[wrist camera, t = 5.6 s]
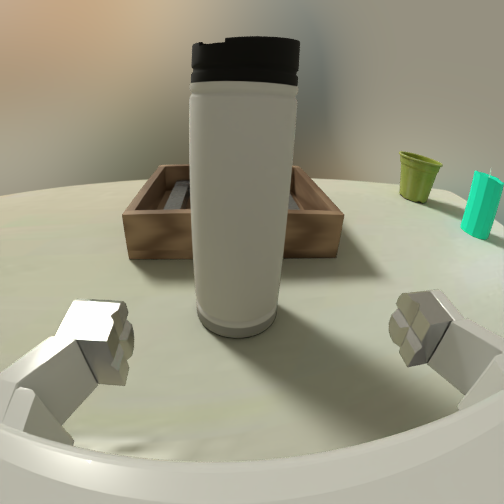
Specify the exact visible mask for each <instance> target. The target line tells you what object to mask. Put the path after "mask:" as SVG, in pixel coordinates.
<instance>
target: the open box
mask: <svg viewBox="0 0 504 504" xmlns="http://www.w3.org/2000/svg"><path fill="white" fill-rule="evenodd" d="M177 180H190V164H180V165H160V166H159V167H158V168H157V169H156V171H155V172H154V173H153V175H152V176H151V177H150V179H149V180H148V181H147V182H146V183H145V185H144V186H143V187H142V189H141V190H140V191H139V192H138V194H137V195H136V196H135V198H134V199H133V201H132V202H131V203H130V205H129V206H128V207H127V209H126V210H125V211H124V213H123V214H122V218H123V225H124V231H125V238H126V244H127V250H128V256H129V259H193V246H192V226H191V202H190V197H189V199H188V202H187V206H186V209H171V210H163V209H164V207H165V205H166V203H167V201H168V198H169V196H170V194H171V192H172V190H173V188H174V186H175V184H176V182H177ZM290 194H291V196H292V198H293V199H294V201H295V202H296V204H297V206H298V207H299V209H300V210H288V214H287V224H286V233H285V242H284V251H283V258H332V257H336V255H337V250H338V245H339V240H340V235H341V230H342V225H343V219H344V214H343V213H342V212H341V211H340V210H339V208H338V207H337V206H336V205H335V204H334V203H333V202H332V201H331V200H330V199H329V197H328V196H327V195H326V194H325V193H324V192H323V191H322V190H321V189H320V188H319V187H318V186H317V185H316V184H315V182H314V181H313V180H312V179H311V178H310V177H309V176H308V175H307V174H306V173H305V172H304V171H303V170H302V169H301V168H300V167H299V166H292V173H291V183H290Z"/></svg>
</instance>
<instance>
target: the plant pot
mask: <svg viewBox="0 0 504 504" xmlns="http://www.w3.org/2000/svg"><path fill="white" fill-rule="evenodd" d="M399 154H400V156H401V157H400V161H401V178H400V192H399V193H400V194H401V195H402V196H403V197H404V198H406V199H409V200H411V201H414V202H417V201H420V202H422V203H425V202H426V201H427V199H428V196H429V194H430V191H431V188H432V186H433V183H434V180H435V177H436V175H437V173H438V172H439V169H440V167H442V164H441V163H440V162H438V161H435V160H433V159H430V158H427V157H424V156H421V155H418V154H414V153H408V152H402V151H400V152H399Z"/></svg>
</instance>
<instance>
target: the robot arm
mask: <svg viewBox="0 0 504 504" xmlns="http://www.w3.org/2000/svg"><path fill="white" fill-rule="evenodd" d="M396 305H397V308H398V309H397V310H396V311H395V312H394V313H393V314H392V315H391V318H390V321H389V334H390V337H391V339H392V341H393V342H394V343H395V344H397V345H398V346H400V350H399V353H400V355H401V357H402V359H403V361H404V362H405V364H406V366H407V367H411V366H416V365H421V364H426V363H428V364H427V365H429V366H430V367H431V368H432V369H434V370H435V371H436V372H437V373H438V374H440V375H441V376H442V377H443V378H445V379H446V380H447V381H448V382H449V383H451V384H452V385H453V386H454V387H455V388H457V389H458V390H459V391H460V392H461V393H463V394H464V395H465V396H464V397H463V398H462V400H461V401H460V402H459V403H458V406H457V408H458V409H459V411H458V412H455V413H453V414H451V415H448V416H446V417H443V418H441V419H438V420H436V421H433V422H430V423H428V424H425V425H422V426H419V427H416V428H414V429H411V430H408V431H404V432H401V433H398V434H395V435H392V436H388V437H385V438H381V439H377V440H374V441H370V442H366V443H362V444H358V445H354V446H349V447H345V448H340V449H335V450H330V451H324V452H319V453H313V454H306V455H299V456H292V457H284V458H274V459H263V460H249V461H225V462H197V461H173V460H159V459H148V458H139V457H131V456H124V455H117V454H111V453H105V452H99V451H94V450H89V449H84V448H80V447H75V446H73V444H74V440H73V438H72V437H71V435H70V434H69V433H68V432H67V431H66V430H65V429H64V428H63V427H62V425H63V423H64V422H65V421H66V420H67V419H68V418H69V417H70V416H71V415H72V413H73V412H74V411H75V410H76V409H77V408H78V407H79V406H80V405H81V404H82V402H83V401H84V400H85V399H86V398H87V397H88V396H89V395H90V394H91V393H92V392H93V390H94V389H95V388H96V387H97V386H98V384H106V385H119V386H125V385H126V380H127V376H128V371H129V365H128V362H127V360H128V359H129V358H130V357H131V356H132V354H133V350H134V332H133V327H132V324H131V323H130V322H129V321H128V320H126V319H127V316H128V309H127V306H126V303H125V302H123V301H112V300H96V299H92V300H91V299H76V300H74V301H73V303H72V305H71V306H70V308H69V310H68V312H67V314H66V316H65V318H64V320H63V322H62V324H61V325H60V327H59V329H58V331H57V333H56V335H55V337H51V336H50V337H49V338H48V339H46V340H45V341H43V342H42V343H40V344H39V345H38V346H36V347H35V348H33V349H32V350H31V351H29V352H28V353H26V354H25V355H24V356H22V357H21V358H20V359H18V360H17V361H15V362H14V363H13V364H11V365H10V366H9V367H7V368H6V369H5V370H3V371H2V372H0V504H504V338H502V337H501V336H499V335H497V334H495V333H494V332H492V331H490V330H488V329H487V328H485V327H483V326H481V325H479V324H478V323H476V322H474V321H472V320H470V319H469V318H466V319H465V318H464V317H463V315H462V314H461V313H460V312H459V311H458V309H457V308H456V307H455V306H454V305H453V303H452V302H451V301H450V300H449V299H448V298H447V296H446V295H445V294H444V293H443V292H442V291H441V290H439V289H434V290H426V291H420V292H410V293H402V294H401V295H400V296H399V298H398V300H397V303H396Z"/></svg>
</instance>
